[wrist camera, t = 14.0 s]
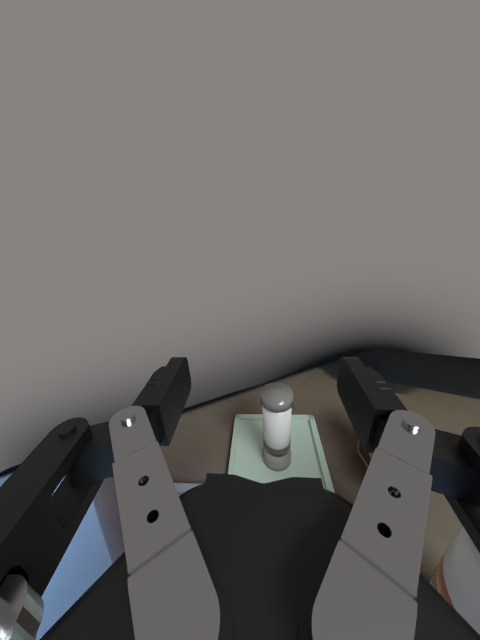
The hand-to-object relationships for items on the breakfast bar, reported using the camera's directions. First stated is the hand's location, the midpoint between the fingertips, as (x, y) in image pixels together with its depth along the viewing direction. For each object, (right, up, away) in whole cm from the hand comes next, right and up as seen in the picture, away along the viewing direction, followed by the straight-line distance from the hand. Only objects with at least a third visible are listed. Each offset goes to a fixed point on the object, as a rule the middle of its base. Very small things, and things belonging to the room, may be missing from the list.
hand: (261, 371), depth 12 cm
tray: (+5, -21, +28) cm, 36 cm away
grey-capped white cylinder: (+5, -21, +28) cm, 35 cm away
